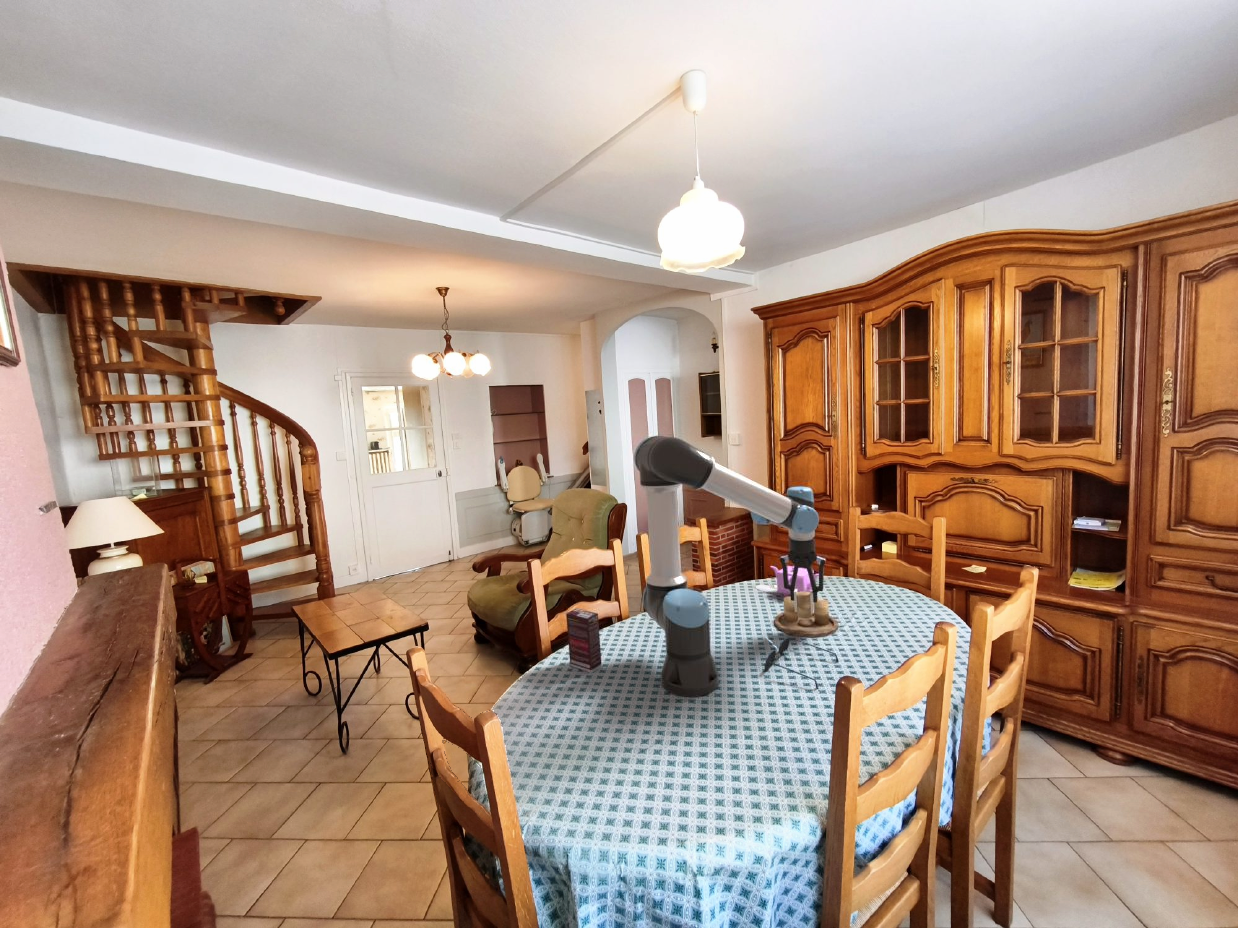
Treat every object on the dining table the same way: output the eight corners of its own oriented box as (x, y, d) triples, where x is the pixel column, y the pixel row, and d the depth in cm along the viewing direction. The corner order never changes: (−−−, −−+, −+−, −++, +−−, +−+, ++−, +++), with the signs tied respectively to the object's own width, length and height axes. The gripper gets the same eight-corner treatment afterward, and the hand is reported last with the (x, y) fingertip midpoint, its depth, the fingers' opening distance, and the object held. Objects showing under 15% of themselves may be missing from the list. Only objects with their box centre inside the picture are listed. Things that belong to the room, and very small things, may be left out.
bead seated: (831, 624, 168) (831, 603, 167) (818, 625, 168) (817, 604, 167) (824, 619, 172) (824, 598, 172) (811, 620, 172) (811, 599, 171)
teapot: (780, 602, 191) (779, 573, 190) (770, 590, 205) (769, 562, 204) (822, 600, 191) (822, 571, 190) (810, 588, 204) (809, 560, 203)
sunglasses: (786, 650, 155) (788, 634, 154) (838, 669, 146) (840, 653, 145) (762, 675, 142) (764, 658, 141) (817, 698, 133) (819, 680, 132)
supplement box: (602, 666, 152) (599, 612, 150) (591, 673, 148) (587, 618, 146) (580, 659, 157) (576, 607, 156) (569, 665, 153) (565, 612, 152)
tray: (850, 635, 161) (849, 629, 161) (789, 642, 159) (789, 635, 159) (820, 612, 180) (820, 607, 180) (766, 618, 178) (765, 612, 178)
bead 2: (812, 613, 166) (811, 591, 165) (811, 619, 162) (810, 596, 161) (798, 612, 168) (797, 590, 167) (796, 617, 164) (795, 595, 163)
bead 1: (789, 615, 177) (789, 595, 176) (801, 619, 174) (800, 598, 173) (781, 619, 174) (780, 598, 174) (793, 623, 171) (792, 602, 170)
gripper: (832, 535, 162) (834, 609, 164) (774, 533, 169) (777, 604, 171) (831, 541, 155) (833, 618, 157) (771, 539, 162) (774, 613, 164)
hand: (804, 611), depth 164 cm, fingers closed on bead 2, 4 cm apart
